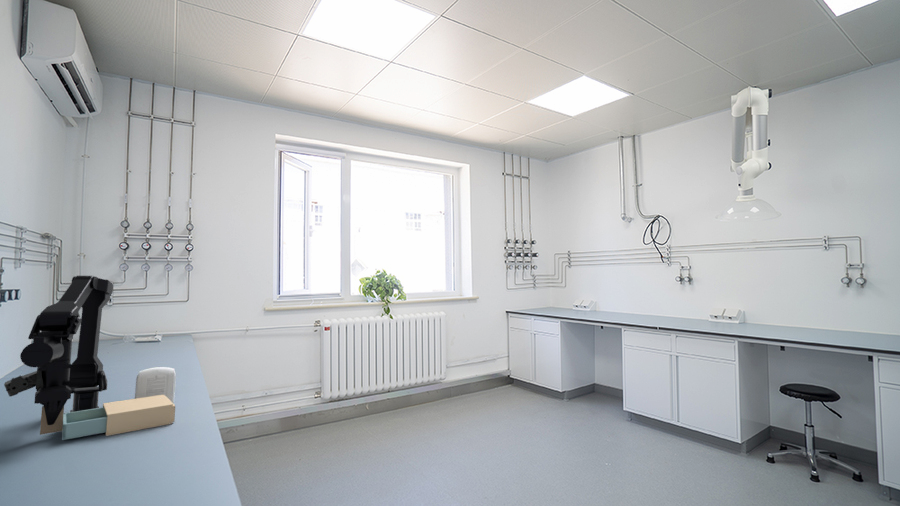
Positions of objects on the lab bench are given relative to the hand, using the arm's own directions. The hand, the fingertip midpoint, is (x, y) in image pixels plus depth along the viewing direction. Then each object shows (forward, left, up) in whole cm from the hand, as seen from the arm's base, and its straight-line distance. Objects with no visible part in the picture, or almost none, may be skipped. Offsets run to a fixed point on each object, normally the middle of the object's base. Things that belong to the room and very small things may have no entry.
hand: (50, 424), depth 103 cm
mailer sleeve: (0, +17, -4) cm, 18 cm away
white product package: (-14, +23, -4) cm, 28 cm away
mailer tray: (0, +7, -3) cm, 8 cm away
